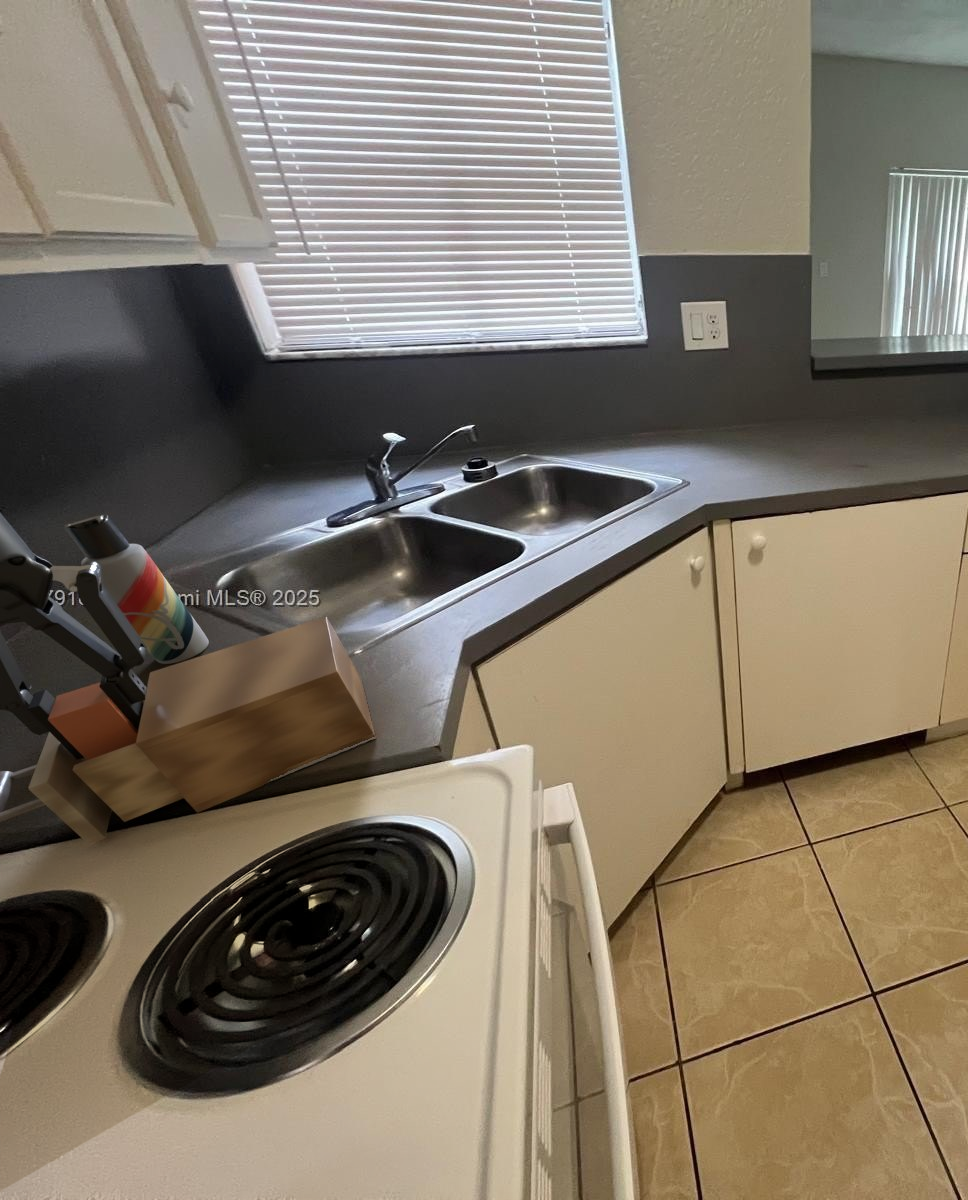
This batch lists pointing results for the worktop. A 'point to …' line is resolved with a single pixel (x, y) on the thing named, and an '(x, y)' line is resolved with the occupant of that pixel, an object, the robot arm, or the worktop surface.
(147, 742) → the cabinet
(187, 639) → the lotion bottle
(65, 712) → the block
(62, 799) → the drawer
